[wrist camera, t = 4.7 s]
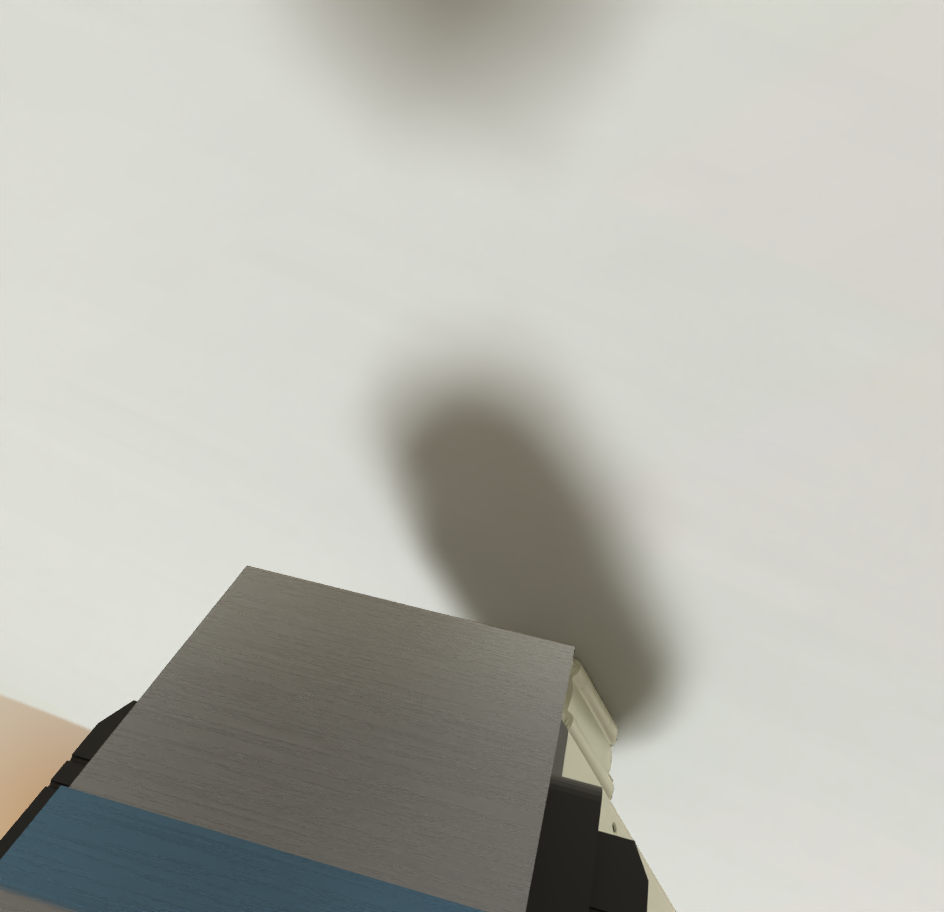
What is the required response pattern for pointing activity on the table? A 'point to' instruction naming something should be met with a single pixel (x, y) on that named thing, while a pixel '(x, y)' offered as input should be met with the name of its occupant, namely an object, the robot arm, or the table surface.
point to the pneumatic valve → (596, 761)
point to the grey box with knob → (311, 767)
